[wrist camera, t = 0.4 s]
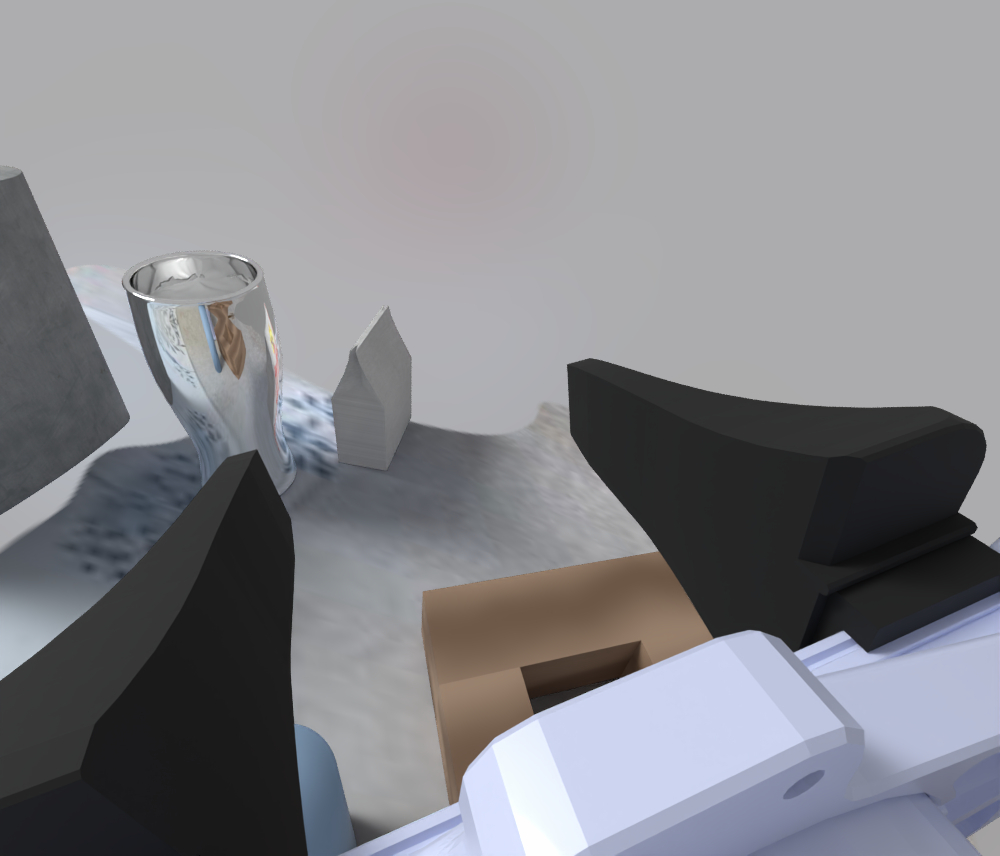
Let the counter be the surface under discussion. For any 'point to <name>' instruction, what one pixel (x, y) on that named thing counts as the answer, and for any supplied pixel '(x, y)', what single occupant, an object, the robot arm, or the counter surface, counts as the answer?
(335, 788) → the peg
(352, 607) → the counter surface
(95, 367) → the hip flask
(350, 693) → the counter surface
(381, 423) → the grey angular block
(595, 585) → the socket board
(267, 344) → the silver metal tumbler
